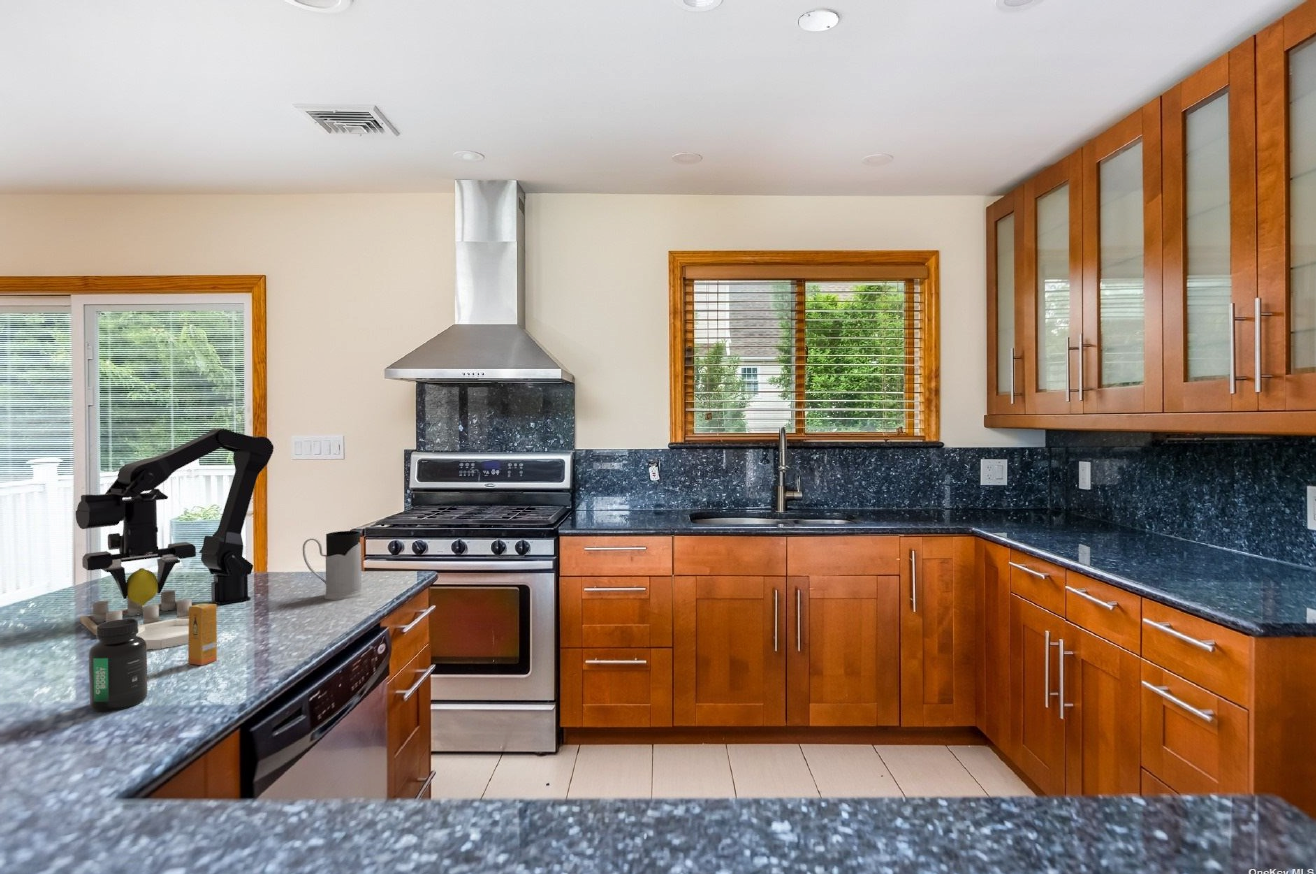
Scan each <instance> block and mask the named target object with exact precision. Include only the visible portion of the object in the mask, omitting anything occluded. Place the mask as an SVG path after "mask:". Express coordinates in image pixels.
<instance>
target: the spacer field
mask: <svg viewBox="0 0 1316 874" xmlns="http://www.w3.org/2000/svg"><path fill="white" fill-rule="evenodd" d="M192 601H193V600H192V599H191V598H185V599H179V600H176V591H175V590H172V589H171V590H165V591H164V590H163V591H161V593H160V603H156V604H151V605H150V604H149V605H143V606H140V605H139V604H138V603H135V602H132V601H131V600H130V599H129V598H128V597H127V599H126V605H127V608H125V609H117V610H111V611H109V610H110V608H109V607H110V605H109V600H98V601H95V602H92V614H88V615H83V616H79V622H80V623H81V624H82V625H83V626H84V627H85V626H86V627H85V628H87V630H89V631H90V632H91V633H92V634H93V635H94V636H95V635H96V636H95V637H97V626H98V625H97V624H99V622H101V623H104V622H103V621H106V622H109V621H114V620H122V619H123V615H122V614H127V616H128V615H129V616H128V617H134V616H133V615H138V614H141V615H142V620H143V621H142V624H138V626H142V625H146V624H151V623H157V622H162V621H168V620H173V619H189V606H193V604H192V603H193V602H192ZM160 610H162V611H161V612H168V610H170V611H174V610H176V618H171V619H170V618H169V619H165V620H160V614H159V613H160ZM138 616H139V615H138ZM91 620H92V621H91Z"/></svg>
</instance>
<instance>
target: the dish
mask: <svg viewBox="0 0 1316 874" xmlns="http://www.w3.org/2000/svg"><path fill="white" fill-rule="evenodd" d="M172 619H173V620H169V619H167V620H168V621H164V620H161V621H162V622H157V623H151V624H146V625H142V624H141V625H142V626H138V633H137V634H136V636H138V637H141V638H143V639H144V640H145V642H146V646H147V649H153V650H162V649H161V648H165V647H170V648H174V647H173V646H175V647H178V646H177V645H179V646H183V645H184V646H185V645H188V639H189V619H175V618H172ZM165 649H166V648H165Z"/></svg>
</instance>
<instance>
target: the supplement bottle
mask: <svg viewBox="0 0 1316 874" xmlns="http://www.w3.org/2000/svg"><path fill="white" fill-rule="evenodd" d="M138 621H139V620H137V619H134V618H122V620H114V621H109V622H101V623H100V624H98V625H97V636H96V640H97V642H96V643H95V644H93V645H92V646H91V647H90V649H89V651H88V683H89V686H88V688H89V707H90V708H91V709H92V710H93V711H94V712H101V713H102V712H115V711H120V710H124V709H125V710H126V709H129V708H131V707H135V706H137V705H139V704H141V703H142V702H144V701H145V700H146V699H147V697H148V655H147V654H148V653H147V652H148V650H147V646H146V642H145V640H144V639H143V638H141V637H138V636H136V634H137V633H138V625H139V624H138Z"/></svg>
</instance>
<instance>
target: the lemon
mask: <svg viewBox="0 0 1316 874" xmlns="http://www.w3.org/2000/svg"><path fill="white" fill-rule="evenodd" d="M126 586H127V597H128V598H129V599H130V600H131V601H132V602H135V603H138V604H139V605H140V606H146V604H147V603H148V602H150V601H151V600H153V599H154V598H155V596H156V595H157V594H158V593H157V590H158V582H157V576H156V574H155V573H154V572H152V571H150V570H149V569H145V568H144V567H140V568H139V569H138V570H135V571H133V572H132V573H131V574H130V575H129V576H128V577H127V579H126Z"/></svg>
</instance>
